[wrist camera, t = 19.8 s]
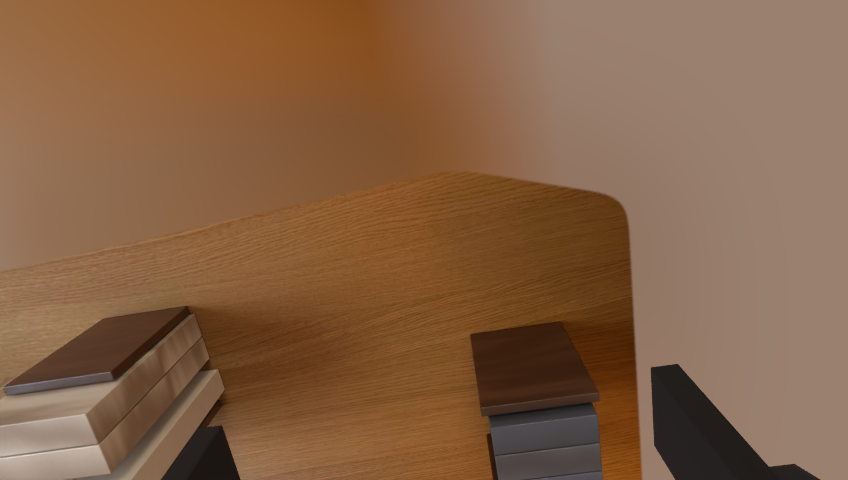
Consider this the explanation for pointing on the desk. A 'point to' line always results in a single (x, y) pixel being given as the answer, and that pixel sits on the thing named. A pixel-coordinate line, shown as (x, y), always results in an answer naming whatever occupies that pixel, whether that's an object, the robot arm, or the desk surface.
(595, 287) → the desk surface
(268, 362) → the desk surface
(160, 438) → the cream book
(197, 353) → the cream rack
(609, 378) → the desk surface
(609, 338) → the desk surface
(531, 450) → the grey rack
